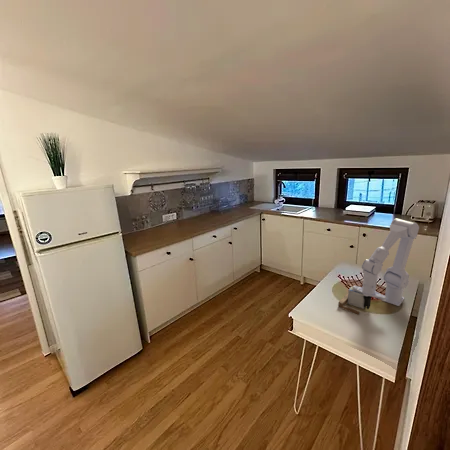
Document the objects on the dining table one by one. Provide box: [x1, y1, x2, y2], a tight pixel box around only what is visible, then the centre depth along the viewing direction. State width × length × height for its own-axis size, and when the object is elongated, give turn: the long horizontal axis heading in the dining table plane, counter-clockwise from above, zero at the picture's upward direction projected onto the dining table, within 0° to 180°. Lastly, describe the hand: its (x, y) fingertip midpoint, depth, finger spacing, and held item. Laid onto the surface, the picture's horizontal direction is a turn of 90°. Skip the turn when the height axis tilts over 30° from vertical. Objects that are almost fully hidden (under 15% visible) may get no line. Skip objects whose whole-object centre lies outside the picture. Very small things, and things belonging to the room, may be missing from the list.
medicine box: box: [347, 286, 365, 310], centre depth 132 cm, size 8×4×9 cm, turn 47°
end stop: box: [337, 292, 360, 316], centre depth 133 cm, size 14×10×3 cm
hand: (366, 307), depth 128 cm, fingers closed
